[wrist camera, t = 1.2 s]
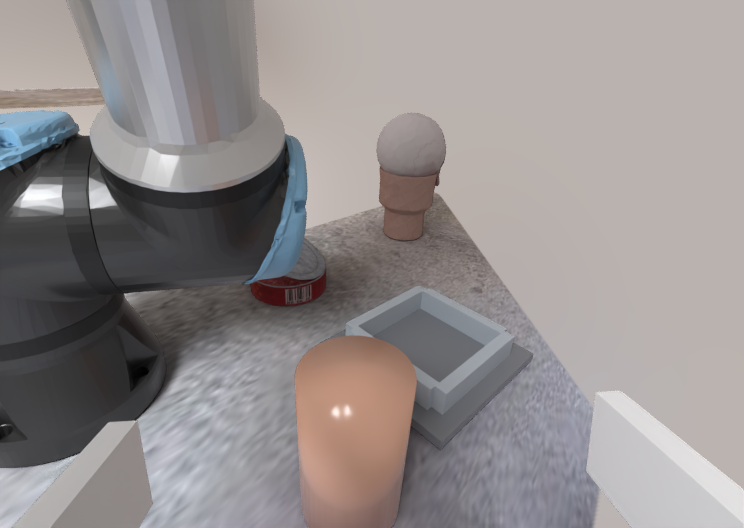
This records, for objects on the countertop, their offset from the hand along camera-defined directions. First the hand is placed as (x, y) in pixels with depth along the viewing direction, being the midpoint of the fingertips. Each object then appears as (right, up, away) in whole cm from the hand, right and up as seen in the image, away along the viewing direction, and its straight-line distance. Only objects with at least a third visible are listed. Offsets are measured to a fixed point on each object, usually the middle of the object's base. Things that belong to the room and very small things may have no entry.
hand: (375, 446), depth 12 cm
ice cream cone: (+5, +11, +59) cm, 60 cm away
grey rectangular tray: (+6, -5, +31) cm, 32 cm away
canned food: (-11, +2, +42) cm, 44 cm away
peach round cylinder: (-2, -12, +17) cm, 21 cm away
